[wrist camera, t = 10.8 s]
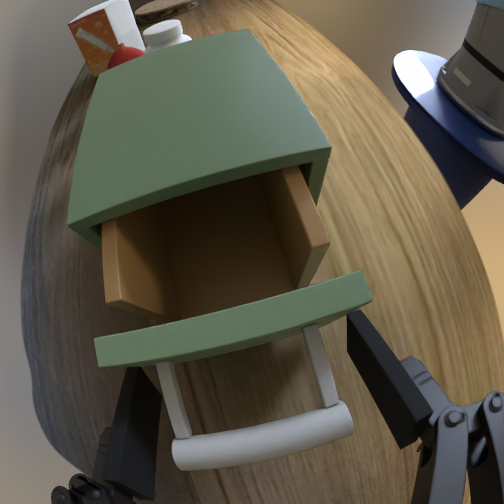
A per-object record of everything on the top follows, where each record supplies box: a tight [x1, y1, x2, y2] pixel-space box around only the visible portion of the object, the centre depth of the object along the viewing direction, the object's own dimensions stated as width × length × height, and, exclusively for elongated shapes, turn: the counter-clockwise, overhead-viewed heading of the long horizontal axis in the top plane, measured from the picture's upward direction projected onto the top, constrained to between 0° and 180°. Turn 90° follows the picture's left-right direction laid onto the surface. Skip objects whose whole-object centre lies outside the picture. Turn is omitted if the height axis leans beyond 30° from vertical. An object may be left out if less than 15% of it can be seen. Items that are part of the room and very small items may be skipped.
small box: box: [68, 0, 145, 77], centre depth 27 cm, size 8×6×13 cm
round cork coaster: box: [135, 0, 198, 23], centre depth 43 cm, size 16×16×3 cm
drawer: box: [94, 165, 373, 471], centre depth 14 cm, size 18×10×9 cm, turn 15°
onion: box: [107, 43, 144, 70], centre depth 26 cm, size 6×6×8 cm
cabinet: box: [67, 29, 332, 251], centre depth 17 cm, size 14×12×11 cm
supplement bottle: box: [143, 20, 192, 55], centre depth 23 cm, size 5×5×10 cm
